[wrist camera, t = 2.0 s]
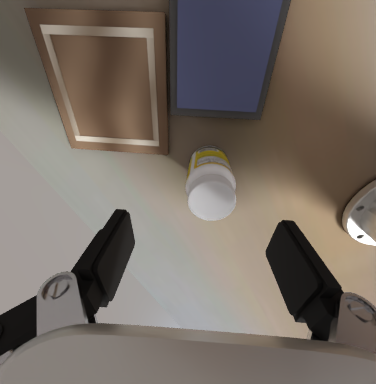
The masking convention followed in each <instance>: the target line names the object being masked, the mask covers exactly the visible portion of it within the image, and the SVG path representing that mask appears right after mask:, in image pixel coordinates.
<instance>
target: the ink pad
mask: <svg viewBox="0 0 376 384" xmlns="http://www.w3.org/2000/svg"><path fill="white" fill-rule="evenodd" d="M290 2H291V0H169V19H170V100H171V115H183V116H200V117H217V118H234V119H252V120H260V119H261V115H262V111H263V107H264V103H265V99H266V95H267V91H268V88H269V84H270V80H271V76H272V72H273V68H274V64H275V60H276V56H277V52H278V49H279V45H280V41H281V37H282V33H283V29H284V25H285V21H286V17H287V13H288V10H289V6H290Z"/></svg>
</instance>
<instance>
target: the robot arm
mask: <svg viewBox="0 0 376 384" xmlns="http://www.w3.org/2000/svg"><path fill="white" fill-rule="evenodd" d="M342 225H343V227H344V230H345V231H346V232H347V233H348V234H349V235H350V236H351V237H352V238H353V239H354V240H356V241H358V242H360V243H364V244H368V245H376V180H374V181H372V182H371V183H369V184H368V185H367V186H365V187H364V188H363V189H361V190H360V191H359V192H358V193H357V194H356V195H355V196H354V197H353V198H352V199H351V201H350V202H349V203H348V205H347V206H346V208H345V210H344V212H343V217H342ZM134 245H135V239H134V234H133V229H132V224H131V219H130V214H129V212H127V211H126V210H122V209H116V210H115V211H114V213H113V214H112V216H111V217H110V219H109V220H108V222H107V223H106V225H105V226H104V228H103V229H101V230H99V231H98V233H97V234H96V236H95V237H94V238H93V240H92V241H91V243H90V244H89V246H88V247H87V249H86V250H85V251H84V253H83V254H82V256H81V257H80V259H79V260H78V262H77V263H76V264H75V266H74V267H73V269H72V270H71V272H68V271H66V272H61V273H58V274H56V275H54V276H52V277H50V278H49V279H48V280H47V281H45V282H44V283H43V285H42V286H41V287H40V289H39V291H38V294H37V295H36V296H34V297H33V298H31V299H29V300H27V301H25V302H24V303H22V304H20V305H18V306H16V307H14V308H12V309H11V310H9V311H7V312H5V313H3V314H2V315H0V384H376V307H375V306H374V305H373V304H371V303H370V302H369V301H368V300H366V299H365V298H363V297H361V296H359V295H357V294H355V293H351V292H345V293H344V292H343V291H342V289H341V288H342V287H341V286H340V285H339V283H338V282H337V280H336V279H335V278H334V276H333V275H332V273H331V272H330V271H329V269H328V268H327V266H326V265H325V264H324V262H323V261H322V259H321V258H320V257H319V255H318V254H317V252H316V251H315V250H314V248H313V247H312V246H311V244H310V243H309V241H308V240H307V239H306V237H305V236H304V234H303V233H302V232H301V230H300V229H299V227H298V226H297V225H296V223H295V222H294V221H289V220H282V221H281V222H279V223H278V225H277V227H276V229H275V232H274V234H273V236H272V238H271V240H270V243H269V245H268V247H267V249H266V257H267V259H268V262H269V264H270V266H271V269H272V271H273V274H274V276H275V279H276V281H277V284H278V286H279V289H280V291H281V294H282V296H283V299H284V301H285V303H286V306H287V308H288V311H289V313H290V314H291V315H293V317H294V319H295V322H301V323H306V324H307V326H308V328H309V331H308V335H307V339H300V338H290V337H278V336H266V335H254V334H243V333H230V332H218V331H205V330H192V329H180V328H179V329H178V328H165V327H152V326H139V325H123V324H122V325H121V324H104V323H98V322H97V318H96V313H97V311H98V309H99V307H107V305H108V303H109V301H112V300H113V298H114V296H115V293H116V291H117V288H118V286H119V283H120V281H121V278H122V275H123V273H124V270H125V268H126V266H127V263H128V261H129V258H130V256H131V253H132V251H133V248H134Z"/></svg>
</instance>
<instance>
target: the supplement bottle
mask: <svg viewBox="0 0 376 384" xmlns="http://www.w3.org/2000/svg"><path fill="white" fill-rule="evenodd" d="M185 187H186V193H187V196H188V206H189V208H190V210H191V212H192V213H193V214H194V215H195V216H197V217H199V218H201V219H204V220H209V221H214V220H220V219H222V218H224V217H226V216H228V215H229V214H230V213H231V212H232V211H233V209H234V208H235V205H236V196H235V190H236V182H235V178H234V175H233V172H232V170H231V167H230V164H229V161H228V159H227V156H226V154H225V153H224V152H223V151H222V150H221V149H219V148H218V147H215V146H204V147H201V148H199V149H198V150H196V151H195V152H194V153H193V155H192V157H191V159H190V162H189V168H188V174H187V179H186V185H185Z"/></svg>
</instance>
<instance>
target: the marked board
mask: <svg viewBox="0 0 376 384" xmlns="http://www.w3.org/2000/svg"><path fill="white" fill-rule="evenodd" d="M24 9H25V12H26V15H27V18H28V21H29V24H30V27H31V30H32V33H33V36H34V39H35V42H36V45H37V48H38V51H39V53H40V56H41V59H42V62H43V65H44V68H45V71H46V74H47V77H48V80H49V83H50V86H51V89H52V92H53V95H54V98H55V101H56V104H57V107H58V110H59V112H60V115H61V118H62V121H63V124H64V127H65V130H66V133H67V136H68V139H69V142H70V145H71V148H76V149H90V150H104V151H119V152H133V153H147V154H162V155H168V154H169V138H168V88H167V38H166V14H165V12H141V11H107V10H73V9H39V8H24Z"/></svg>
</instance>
